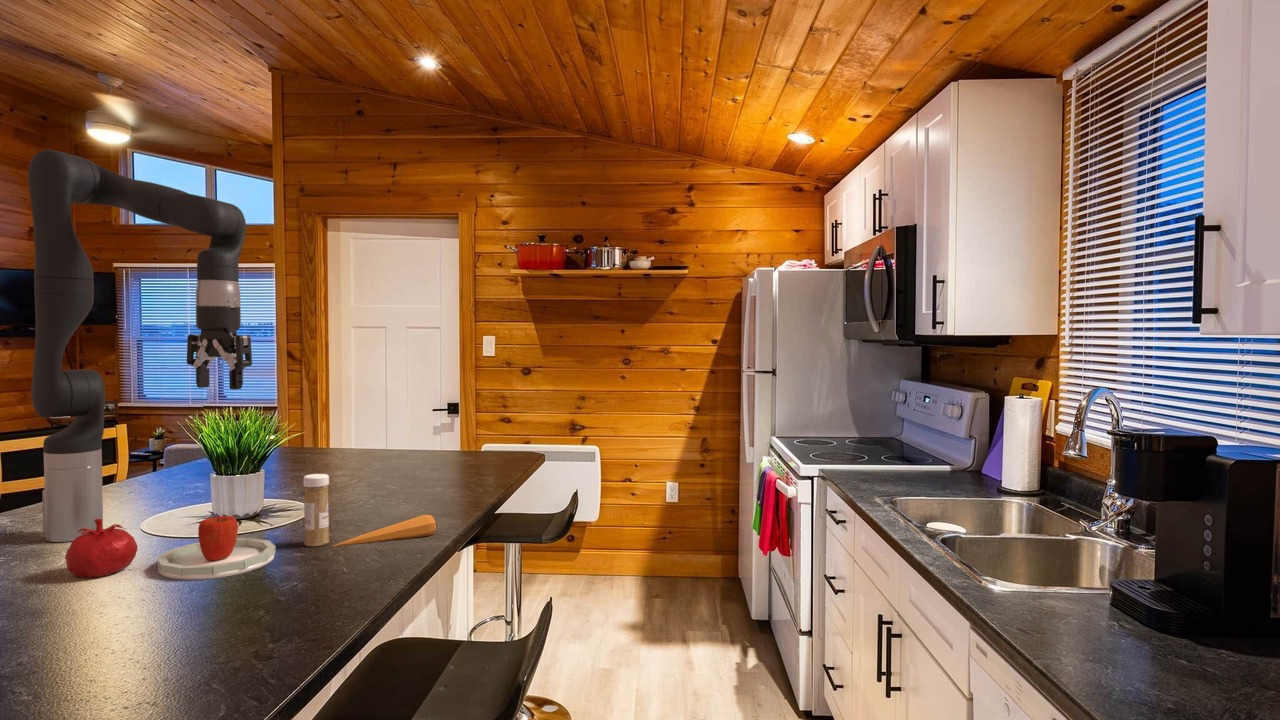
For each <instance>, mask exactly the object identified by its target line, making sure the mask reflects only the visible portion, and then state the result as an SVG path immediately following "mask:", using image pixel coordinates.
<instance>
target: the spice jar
mask: <svg viewBox="0 0 1280 720" xmlns="http://www.w3.org/2000/svg"><path fill="white" fill-rule="evenodd" d="M329 485H330V476H329V475H328V474H327V473H313V474H312V473H311V474H307V475H304V476H303V489H304V501H303V503H304V505H303V511H304V515H303V516H304V520H303V521H304V542H303V544H304V546H306V547H312V548H313V547H322V546H325V545H327V544H329V543H330V539H329V526H330V522H329V521H330V517H329V515H330V514H329V513H330V512H329V511H330V510H329Z"/></svg>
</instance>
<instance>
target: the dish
mask: <svg viewBox="0 0 1280 720" xmlns="http://www.w3.org/2000/svg"><path fill="white" fill-rule="evenodd" d="M276 550H277V549H276V545H275V544H274V543H273V542H271V541H270V540H269V539H267V540H266V539H258V538H253V537H237V539H236V544H235V546H234V549H233V551H232V553H231V554H230V556H228V557H226V558H223V559H219V560H214V561H209V560H206V559H205V557H204V556H203V554H202V551H201V547H200V543H199V542H193V543H189V544H186V545H183V546H179V547H175V548H173V549H169V550H168V551H165V552H164V553H163V554H161V555H159V556H158V557H157V558H156V561H157V562H156V565H157V571H158V574H159V575H160V576H161V577H164V578H167V579H171V580H173V579H174V580H182V581H183V580H184V581H185V580H186V581H190V580H191V581H194V580H196V581H197V580H212V579H219V578H225V577H231V576H237V575H241V574H244V573H248V572H252V571H255V570H258V569H260V568H263V567H265V566H267V565H269V564H271V562H273V560H274V559H275V554H276V552H277V551H276Z"/></svg>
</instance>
